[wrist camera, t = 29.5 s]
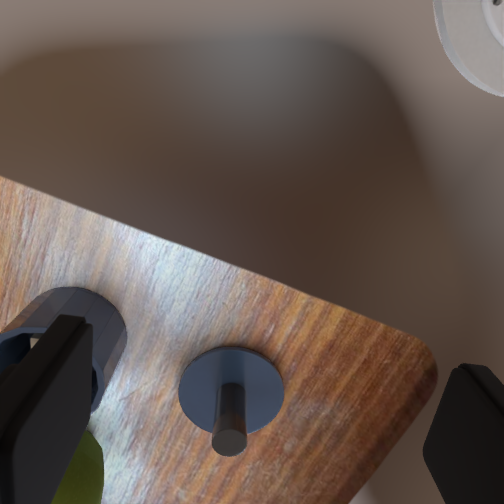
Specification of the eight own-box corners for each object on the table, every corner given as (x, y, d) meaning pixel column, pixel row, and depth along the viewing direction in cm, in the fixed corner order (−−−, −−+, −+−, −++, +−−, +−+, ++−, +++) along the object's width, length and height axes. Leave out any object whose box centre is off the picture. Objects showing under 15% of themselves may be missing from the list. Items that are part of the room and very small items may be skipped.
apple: (133, 424, 47) (100, 524, 36) (105, 475, 49) (66, 582, 38) (57, 394, 45) (-2, 489, 34) (32, 449, 48) (-30, 553, 37)
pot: (96, 272, 40) (65, 309, 33) (144, 356, 44) (125, 407, 37) (3, 307, 41) (-46, 351, 34) (57, 387, 45) (22, 441, 38)
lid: (261, 328, 43) (265, 377, 36) (297, 410, 46) (307, 468, 39) (162, 363, 44) (146, 416, 37) (205, 439, 48) (198, 501, 40)
